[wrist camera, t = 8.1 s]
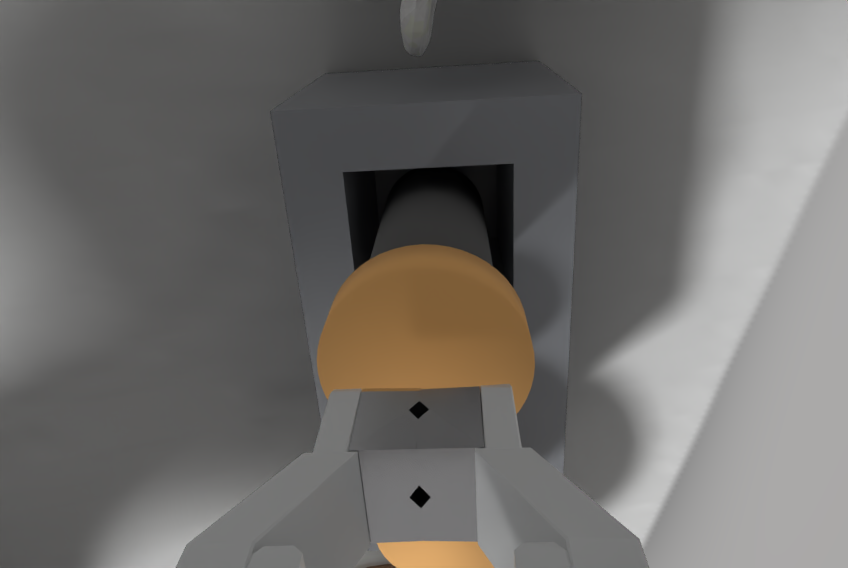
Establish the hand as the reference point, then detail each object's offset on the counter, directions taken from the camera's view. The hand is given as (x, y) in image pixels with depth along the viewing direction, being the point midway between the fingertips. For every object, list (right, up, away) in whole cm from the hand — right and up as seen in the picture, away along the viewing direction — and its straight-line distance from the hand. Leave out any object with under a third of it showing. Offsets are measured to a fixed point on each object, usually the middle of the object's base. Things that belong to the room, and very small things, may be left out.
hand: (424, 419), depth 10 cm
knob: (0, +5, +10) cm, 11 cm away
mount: (+1, +3, +16) cm, 16 cm away
